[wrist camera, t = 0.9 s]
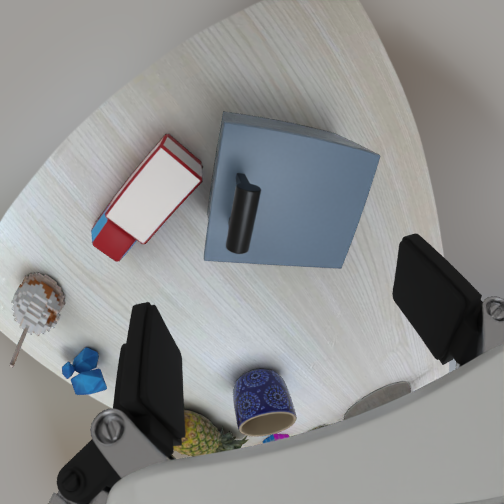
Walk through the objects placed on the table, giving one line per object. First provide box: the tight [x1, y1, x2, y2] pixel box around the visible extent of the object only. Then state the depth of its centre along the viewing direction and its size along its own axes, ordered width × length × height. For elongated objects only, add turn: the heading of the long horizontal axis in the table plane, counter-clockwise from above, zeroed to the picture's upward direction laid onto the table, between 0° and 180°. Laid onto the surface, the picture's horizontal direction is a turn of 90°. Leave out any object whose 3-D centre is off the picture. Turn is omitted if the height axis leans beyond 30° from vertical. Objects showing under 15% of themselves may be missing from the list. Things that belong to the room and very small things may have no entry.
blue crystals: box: [62, 347, 107, 395], centre depth 43 cm, size 8×9×12 cm
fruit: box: [173, 410, 249, 456], centre depth 62 cm, size 14×12×30 cm
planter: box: [233, 369, 297, 436], centre depth 53 cm, size 11×11×11 cm
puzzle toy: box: [263, 434, 289, 443], centre depth 76 cm, size 6×6×6 cm
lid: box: [204, 122, 380, 268], centre depth 25 cm, size 14×13×5 cm
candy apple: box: [10, 272, 65, 368], centre depth 32 cm, size 8×8×15 cm
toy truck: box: [91, 134, 203, 262], centre depth 31 cm, size 6×15×7 cm, turn 133°
